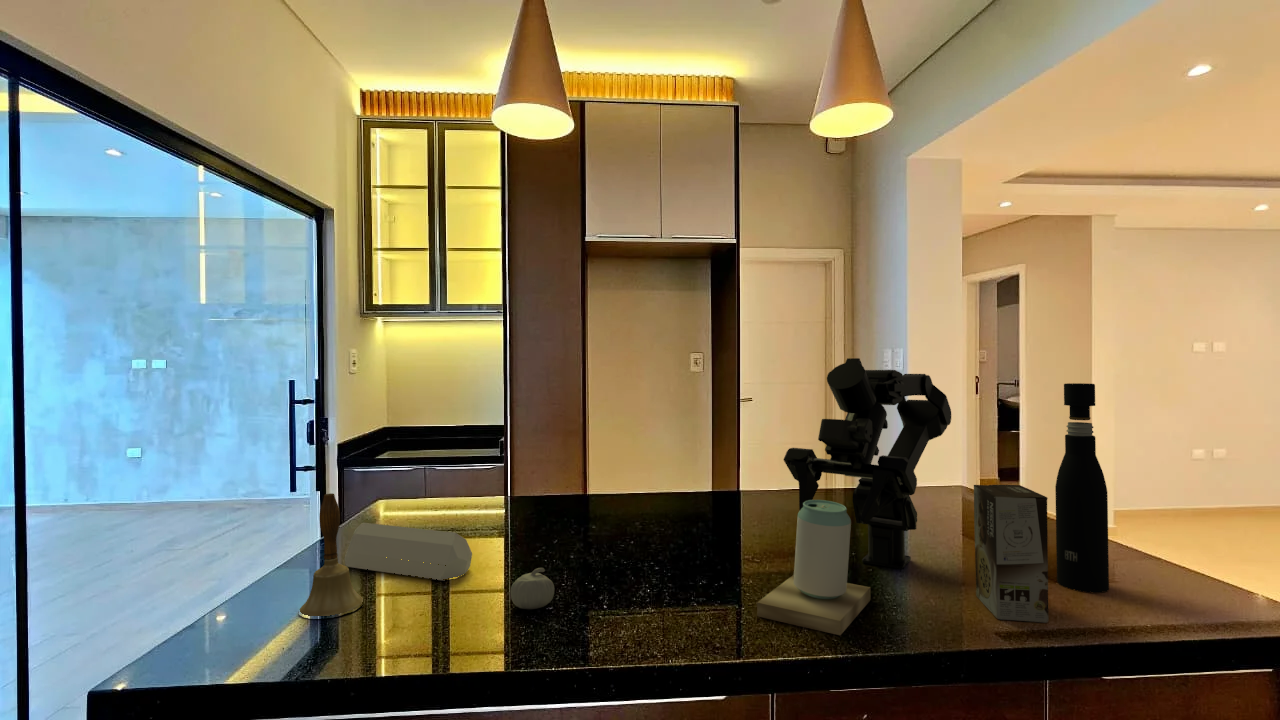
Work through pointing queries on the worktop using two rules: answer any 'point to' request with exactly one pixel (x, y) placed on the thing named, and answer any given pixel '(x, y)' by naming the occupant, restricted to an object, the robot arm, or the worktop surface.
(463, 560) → the crystal
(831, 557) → the can
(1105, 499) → the black bottle
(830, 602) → the beige wooden slab
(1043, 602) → the coffee box
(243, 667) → the worktop surface
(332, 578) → the hand bell
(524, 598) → the grey pumpkin
